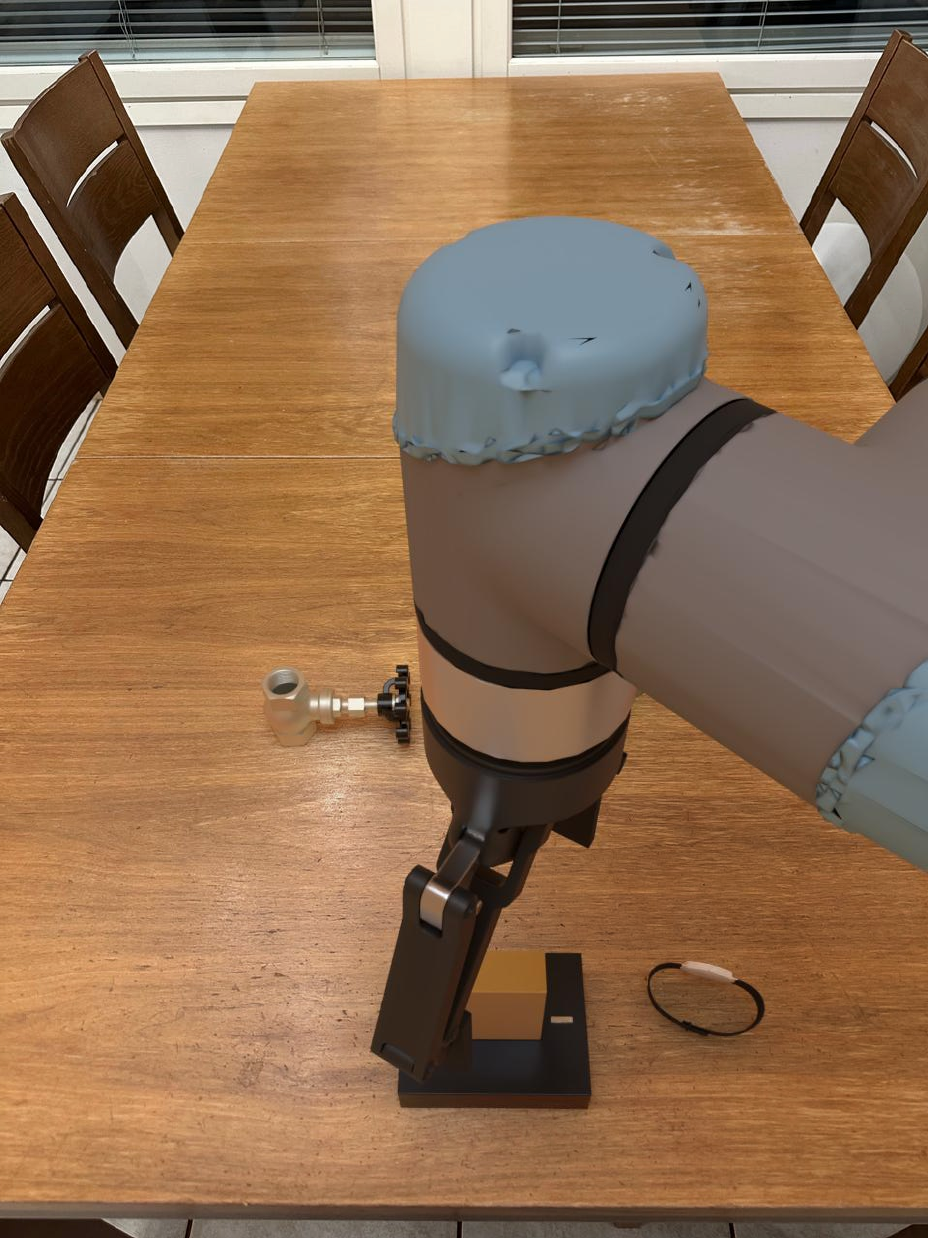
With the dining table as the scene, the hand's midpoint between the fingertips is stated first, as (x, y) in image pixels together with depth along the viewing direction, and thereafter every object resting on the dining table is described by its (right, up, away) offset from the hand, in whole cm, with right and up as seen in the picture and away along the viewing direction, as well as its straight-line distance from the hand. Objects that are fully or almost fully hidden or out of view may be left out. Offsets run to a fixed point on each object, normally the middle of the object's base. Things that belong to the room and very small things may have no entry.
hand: (511, 935), depth 49 cm
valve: (-13, +7, +32) cm, 35 cm away
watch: (+14, -10, +16) cm, 23 cm away
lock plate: (-1, -12, +15) cm, 19 cm away
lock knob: (-1, -10, +12) cm, 16 cm away
